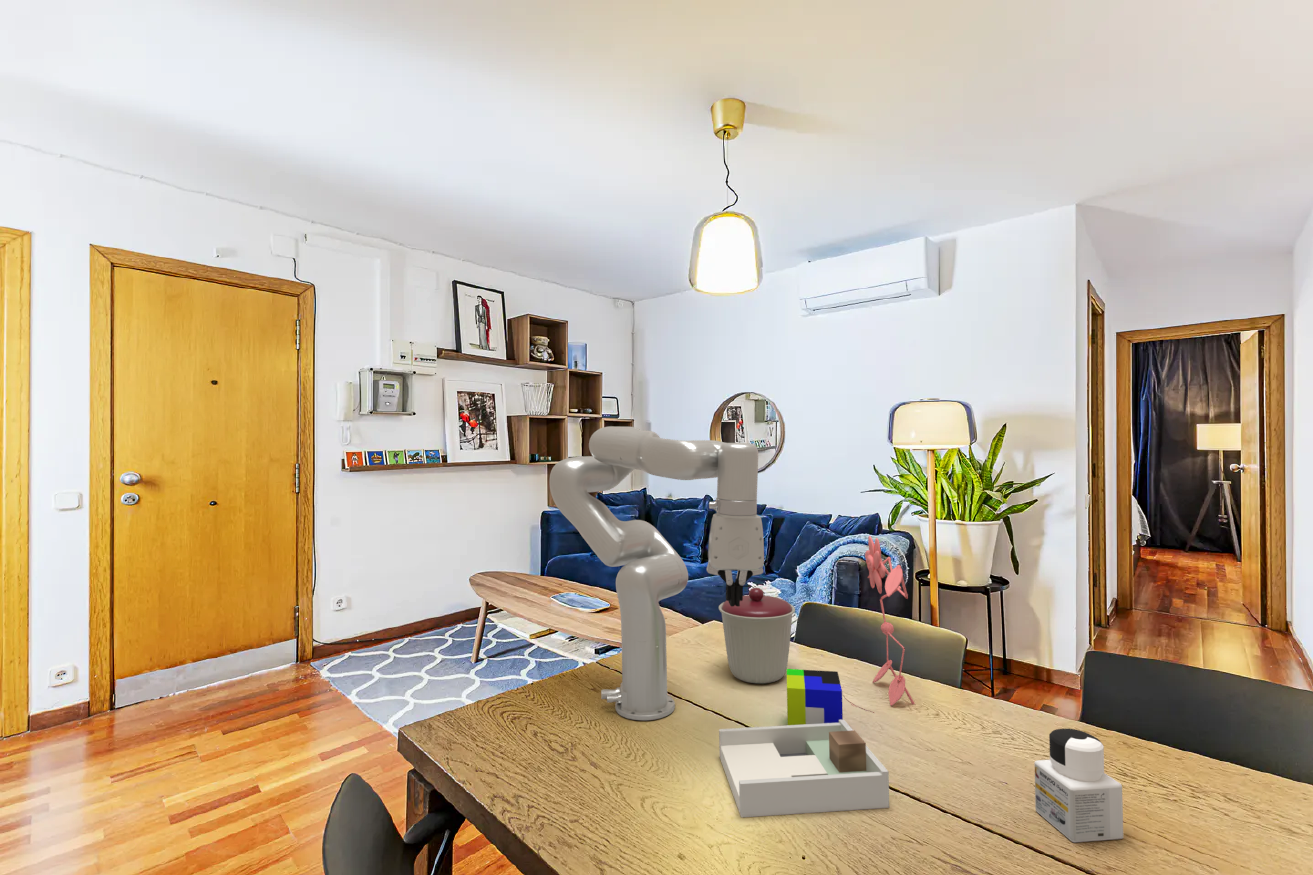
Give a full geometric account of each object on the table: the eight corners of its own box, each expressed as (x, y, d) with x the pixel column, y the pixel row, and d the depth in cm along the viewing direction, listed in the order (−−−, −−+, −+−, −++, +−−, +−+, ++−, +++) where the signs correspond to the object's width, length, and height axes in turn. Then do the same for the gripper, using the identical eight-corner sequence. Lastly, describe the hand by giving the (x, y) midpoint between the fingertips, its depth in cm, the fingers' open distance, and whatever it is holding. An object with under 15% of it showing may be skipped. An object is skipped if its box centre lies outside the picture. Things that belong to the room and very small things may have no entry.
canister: (796, 665, 156) (795, 580, 157) (796, 693, 139) (794, 598, 139) (724, 660, 161) (723, 578, 161) (715, 687, 143) (713, 595, 143)
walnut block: (839, 772, 101) (838, 744, 101) (829, 758, 106) (828, 731, 106) (866, 770, 101) (865, 743, 101) (855, 756, 106) (854, 730, 106)
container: (1034, 810, 94) (1032, 724, 94) (1082, 807, 95) (1080, 721, 95) (1072, 843, 86) (1070, 749, 86) (1124, 839, 87) (1122, 746, 87)
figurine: (895, 673, 150) (889, 527, 150) (931, 721, 124) (923, 545, 124) (830, 673, 151) (824, 528, 152) (851, 721, 126) (844, 547, 126)
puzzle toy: (843, 745, 115) (842, 691, 115) (787, 741, 117) (786, 687, 117) (838, 721, 125) (837, 671, 125) (787, 717, 127) (786, 668, 127)
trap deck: (741, 817, 94) (740, 780, 94) (719, 757, 112) (719, 726, 112) (889, 807, 95) (888, 771, 95) (844, 749, 113) (844, 719, 113)
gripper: (699, 510, 114) (697, 610, 114) (780, 511, 115) (777, 610, 115) (695, 504, 121) (692, 598, 122) (771, 506, 122) (768, 599, 123)
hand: (733, 604), depth 118 cm, fingers closed
